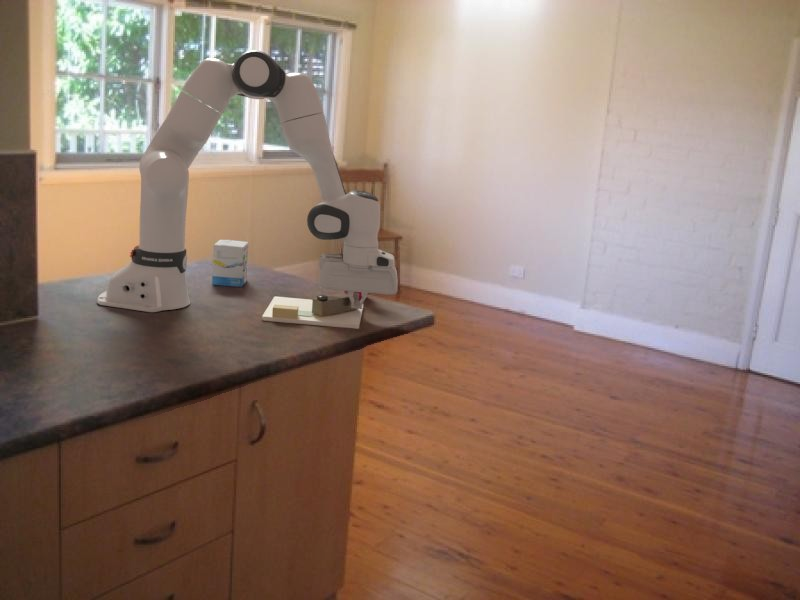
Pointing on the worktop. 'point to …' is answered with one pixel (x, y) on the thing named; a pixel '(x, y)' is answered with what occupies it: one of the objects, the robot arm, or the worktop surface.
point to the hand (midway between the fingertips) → (356, 308)
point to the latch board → (308, 314)
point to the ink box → (230, 263)
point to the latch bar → (332, 304)
